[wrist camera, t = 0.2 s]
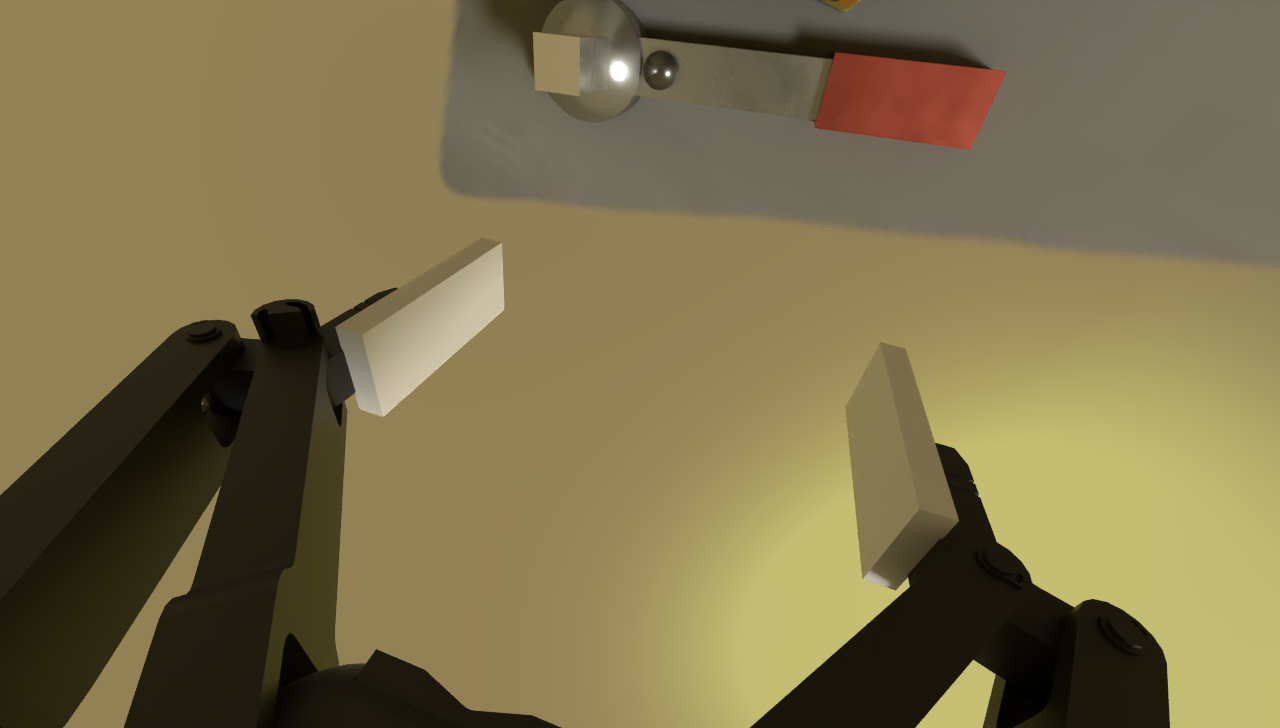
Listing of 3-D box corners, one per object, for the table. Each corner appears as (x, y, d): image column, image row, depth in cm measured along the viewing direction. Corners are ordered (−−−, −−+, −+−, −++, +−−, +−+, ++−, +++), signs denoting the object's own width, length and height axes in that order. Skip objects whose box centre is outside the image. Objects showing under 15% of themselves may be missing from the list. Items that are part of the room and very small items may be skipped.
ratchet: (553, -10, 35) (495, -21, 29) (1006, 35, 30) (1062, 34, 23) (555, 110, 40) (505, 124, 33) (946, 168, 34) (979, 199, 28)
